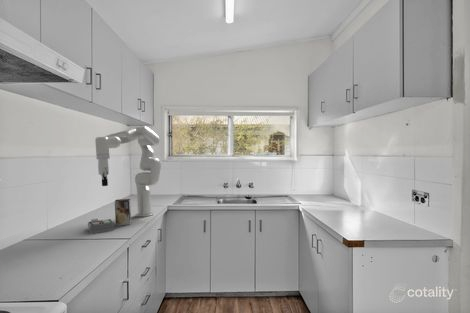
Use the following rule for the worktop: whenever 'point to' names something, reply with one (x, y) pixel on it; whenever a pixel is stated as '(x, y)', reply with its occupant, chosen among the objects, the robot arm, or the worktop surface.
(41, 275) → the worktop surface
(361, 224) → the worktop surface
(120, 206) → the coffee box
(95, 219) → the key slate
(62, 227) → the worktop surface
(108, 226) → the keyguard
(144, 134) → the robot arm
